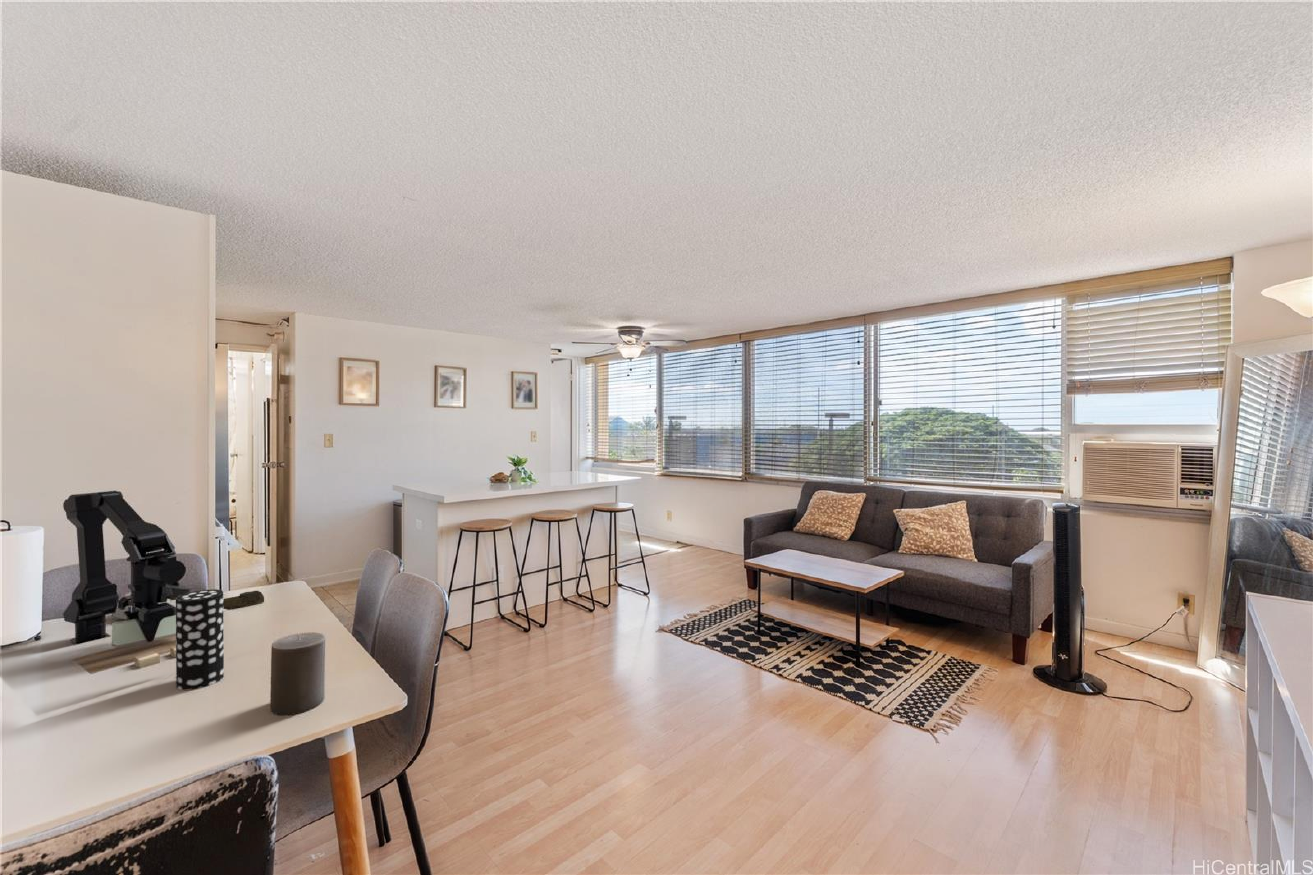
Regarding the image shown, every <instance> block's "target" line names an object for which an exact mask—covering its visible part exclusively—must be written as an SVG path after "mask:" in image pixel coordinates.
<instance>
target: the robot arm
mask: <svg viewBox="0 0 1313 875" xmlns="http://www.w3.org/2000/svg"><path fill="white" fill-rule="evenodd" d="M62 507H63V510H64V512H65V515H66V519H67V521H69V522H70V523H71V524H72V525H73V526H75V528H76V540H77V541H76V542H77V556H78V566H79V567H78V568H79V583H78V584H77V585H76V587H75V588H74V590H73V591H72V593H71V601H70V603H69V604H68V605H67V607H66V609H64V612H62V616H63V620H64V622H66V623H71V624H74V632H75V633H74V637H73V638H70V640H69V641H70V642H71V643H72V644H74V645H75V646H77V645H81V644H85V643H89V642H93V641H96V640H101V639H106V638H110V637H111V635H110V634H109V633H108V632H107V623H106V622H107V621H106V620H107V618H106V616H108V615H112V614H113V613H115V612H116V608H117V604H118V608H119V609H121V610H124V609H125V608H126V606H128V611H125V612H124V614H125V615H126V617H127V618H128V620H132V619H135V620H136V622H137V624H138V626H139V627H140V629H141V631H142V633H143V635H144V637H145V639H146V641H147V642H152V641H153V640H154V638H155V635H156V632H157V629H158V626H159V624H160V622H161V620H162V619H163V618H166V617H170V616H174V615H176V605H173V604H172V603H171V604H169V603H167V599H170V600H174V601H176V597H178V596H180V595H183V594H186V593H189V592H192V591H191V590H192V588H191V587H188V586H185V585H184V586H183V585H180V581H181V580H182V579H183V578H184V576H185V575H186V571H187V567H186V566H185V564H184V563H183V562H182V561H180V560H177V555H176V554H177V552H176V551H175V549H176V547H175V546H174V544H173V543H172V541H171V539H170V538H169V536H168V534H167V533H166V532H165V530H164V529H162V528H161V527H160V526H158V525H157V524H154V523H151V522H148V521H145V520H144V518H142V517H141V516H140V515H139V514H138V513H137V512H136V511H135V509H134V508H133V507H132V506H131V504H129V503H128V501H126V500H125V499H124V495H123V493H122V491H118V490H107V491H97V492H85V493H75V494H74V493H73V494H70V495H69V496H68V498H67V499H65V500H64V502H63V504H62ZM107 519H108V520H109V521H110V522H111V524H112V525H114V527H115V528H116V529H117V530H118V531H119V532H120V533H121V535H122V539H121V545H122V547H123V549H124V551H125V552H126V553H127V554H128V555H129V556H128V557H127V558H126V559H125V560H126V562H130V583H129V584H127V588H128V589H129V590H130V592H131V595H129V596H124V597H122V598H121V597H119V594H118V585H117V584H116V583H112V581H110V580H109V579H108V578H107V571H106V570H107V568H106V557H105V556H106V554H105V543H104V541H105V540H104V526H103V525H104V523H105V522H106V520H107ZM119 598H121V599H120V600H119ZM118 600H119V601H118ZM163 602H165V603H163ZM158 603H161V604H158Z"/></svg>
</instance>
